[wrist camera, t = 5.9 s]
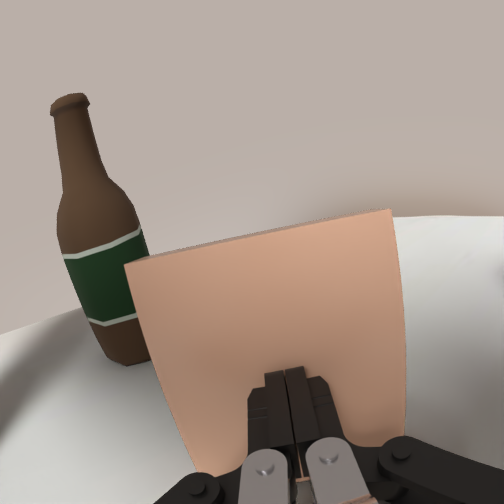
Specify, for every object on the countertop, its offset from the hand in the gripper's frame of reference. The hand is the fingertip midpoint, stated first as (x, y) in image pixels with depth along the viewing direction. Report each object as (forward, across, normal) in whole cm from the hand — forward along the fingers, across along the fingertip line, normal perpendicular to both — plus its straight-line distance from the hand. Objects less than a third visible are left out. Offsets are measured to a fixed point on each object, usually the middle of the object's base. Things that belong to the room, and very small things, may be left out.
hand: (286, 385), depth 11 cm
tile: (0, 0, +6) cm, 6 cm away
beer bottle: (+16, +14, +7) cm, 22 cm away
